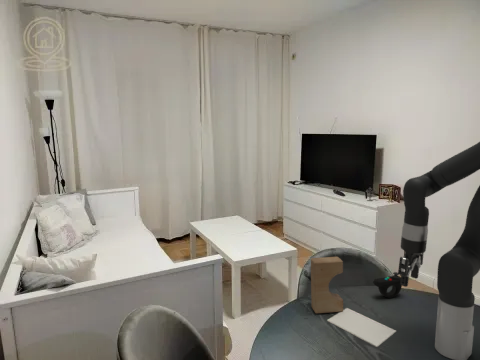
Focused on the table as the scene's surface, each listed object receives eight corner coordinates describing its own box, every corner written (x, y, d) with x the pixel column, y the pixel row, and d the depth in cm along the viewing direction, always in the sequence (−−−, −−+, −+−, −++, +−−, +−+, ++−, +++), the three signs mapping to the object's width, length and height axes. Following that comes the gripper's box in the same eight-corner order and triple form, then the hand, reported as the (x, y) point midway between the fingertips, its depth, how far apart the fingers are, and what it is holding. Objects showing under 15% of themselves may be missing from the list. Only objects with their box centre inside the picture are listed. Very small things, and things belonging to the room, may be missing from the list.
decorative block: (338, 305, 135) (338, 256, 133) (343, 312, 129) (343, 261, 127) (311, 307, 134) (310, 257, 132) (315, 313, 129) (314, 262, 127)
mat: (396, 331, 117) (396, 330, 117) (377, 347, 110) (377, 346, 110) (347, 308, 132) (347, 307, 132) (327, 321, 125) (327, 320, 125)
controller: (404, 297, 140) (405, 274, 138) (377, 301, 137) (378, 278, 136) (397, 292, 144) (398, 270, 142) (371, 296, 142) (372, 273, 140)
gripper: (417, 245, 105) (412, 293, 108) (434, 234, 114) (428, 278, 117) (393, 238, 110) (388, 284, 113) (411, 228, 120) (406, 271, 123)
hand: (409, 281), depth 115 cm, fingers open, 8 cm apart
